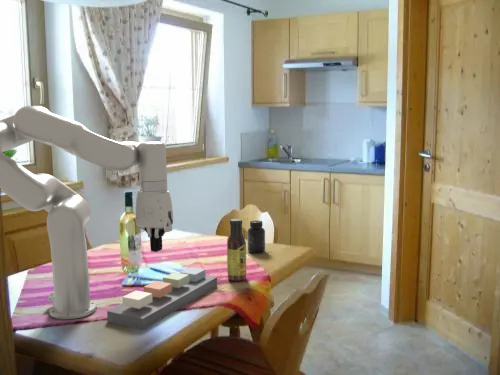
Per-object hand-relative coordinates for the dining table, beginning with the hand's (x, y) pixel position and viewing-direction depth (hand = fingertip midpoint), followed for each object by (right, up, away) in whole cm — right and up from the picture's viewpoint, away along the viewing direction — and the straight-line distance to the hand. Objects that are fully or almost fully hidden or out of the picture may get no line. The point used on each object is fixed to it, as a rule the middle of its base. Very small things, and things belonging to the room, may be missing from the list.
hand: (156, 250), depth 154 cm
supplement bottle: (+29, -7, +59) cm, 66 cm away
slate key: (+8, -11, +18) cm, 22 cm away
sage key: (+4, -11, +10) cm, 15 cm away
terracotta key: (0, -12, +2) cm, 13 cm away
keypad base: (+2, -16, +6) cm, 17 cm away
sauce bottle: (+22, -13, +27) cm, 37 cm away
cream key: (-4, -14, -6) cm, 16 cm away
